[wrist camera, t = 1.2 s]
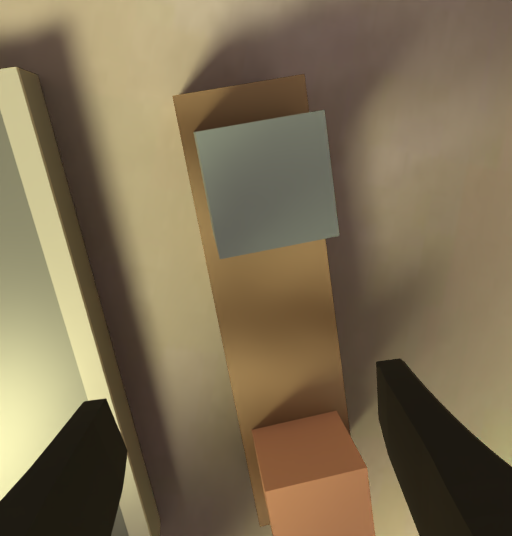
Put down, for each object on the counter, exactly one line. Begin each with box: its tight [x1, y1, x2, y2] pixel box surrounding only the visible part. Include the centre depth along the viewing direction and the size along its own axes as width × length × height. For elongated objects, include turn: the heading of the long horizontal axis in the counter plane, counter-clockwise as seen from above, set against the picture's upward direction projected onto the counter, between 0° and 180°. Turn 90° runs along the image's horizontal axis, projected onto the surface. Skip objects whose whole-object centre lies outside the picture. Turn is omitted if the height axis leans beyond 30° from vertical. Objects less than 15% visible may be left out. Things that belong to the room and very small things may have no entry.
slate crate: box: [194, 110, 339, 259], centre depth 17 cm, size 4×4×4 cm
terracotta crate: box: [252, 411, 375, 536], centre depth 21 cm, size 4×4×4 cm
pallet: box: [173, 74, 351, 527], centre depth 23 cm, size 20×5×4 cm, turn 9°
